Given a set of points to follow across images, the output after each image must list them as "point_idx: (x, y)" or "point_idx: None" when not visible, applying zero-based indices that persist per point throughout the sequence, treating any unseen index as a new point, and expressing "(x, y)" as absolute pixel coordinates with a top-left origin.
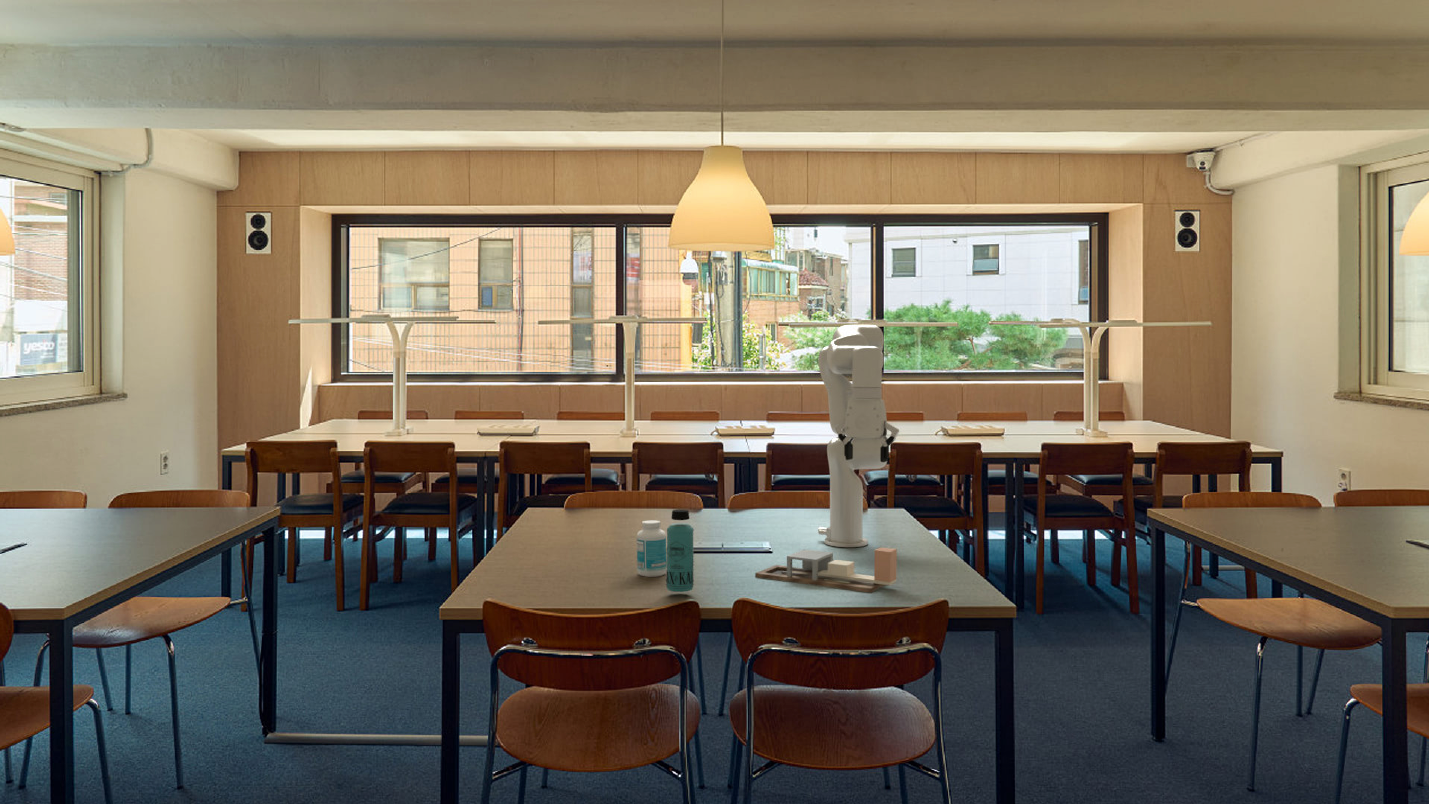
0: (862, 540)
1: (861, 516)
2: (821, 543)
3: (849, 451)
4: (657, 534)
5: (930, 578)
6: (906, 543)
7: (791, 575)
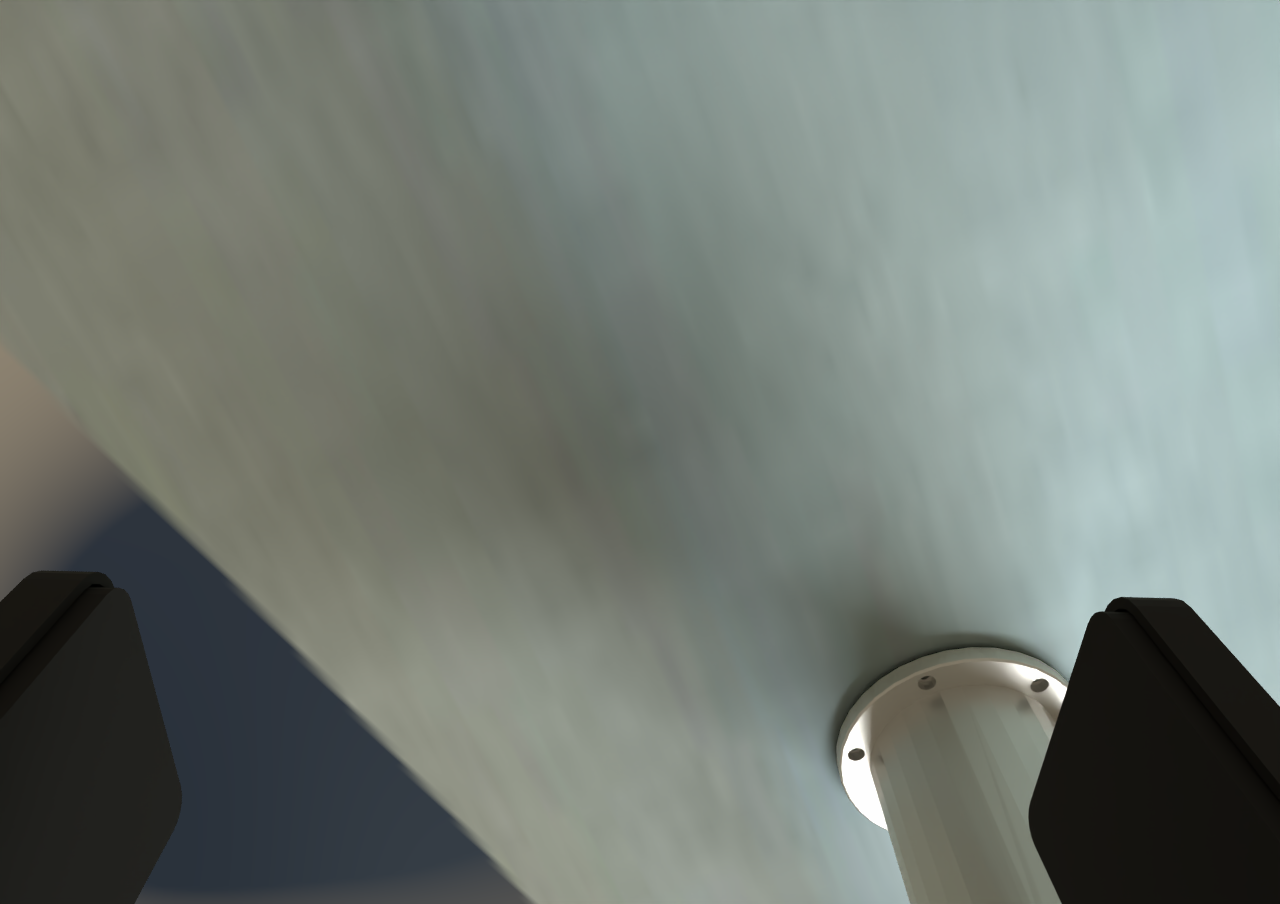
0: (870, 775)
1: (909, 883)
2: None
3: (1191, 844)
4: None
5: (130, 110)
6: (660, 863)
7: None
